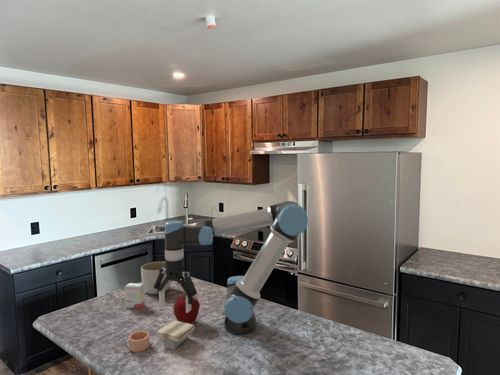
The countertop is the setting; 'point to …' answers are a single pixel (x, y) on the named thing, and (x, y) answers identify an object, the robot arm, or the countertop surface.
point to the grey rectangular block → (173, 343)
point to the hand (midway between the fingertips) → (175, 308)
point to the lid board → (175, 330)
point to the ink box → (134, 295)
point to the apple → (181, 310)
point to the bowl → (139, 341)
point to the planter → (152, 276)
